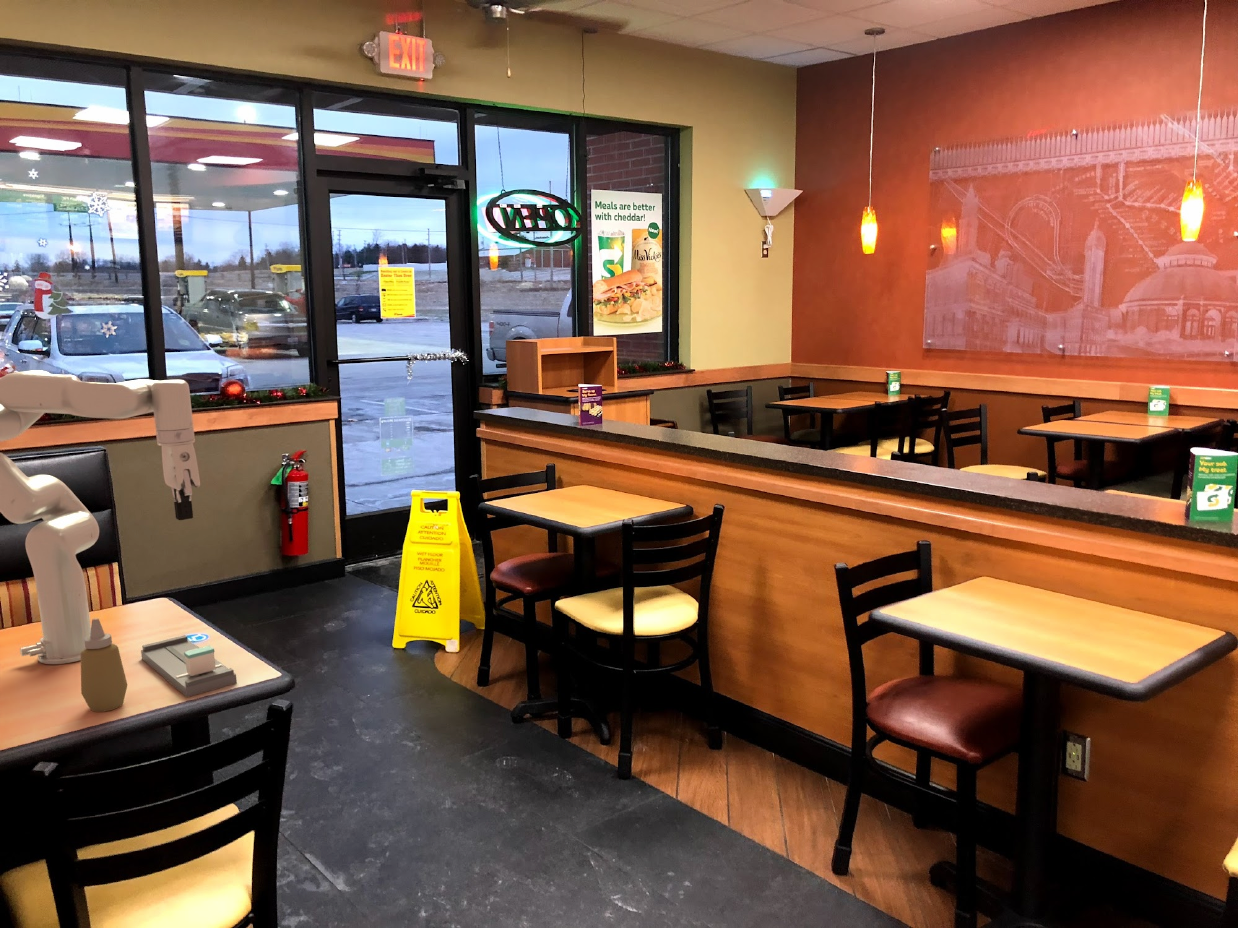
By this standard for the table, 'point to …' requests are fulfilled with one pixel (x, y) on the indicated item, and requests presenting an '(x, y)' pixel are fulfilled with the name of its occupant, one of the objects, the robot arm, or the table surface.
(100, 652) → the squeeze bottle
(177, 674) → the console board
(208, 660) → the fader knob
